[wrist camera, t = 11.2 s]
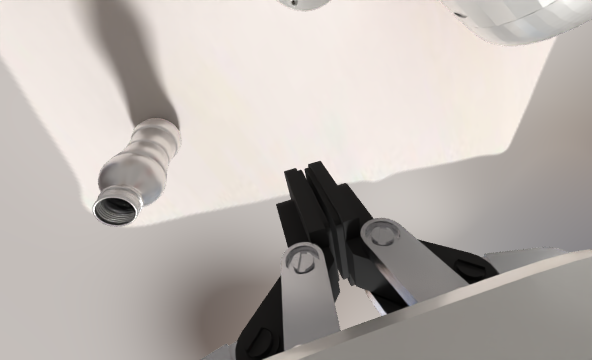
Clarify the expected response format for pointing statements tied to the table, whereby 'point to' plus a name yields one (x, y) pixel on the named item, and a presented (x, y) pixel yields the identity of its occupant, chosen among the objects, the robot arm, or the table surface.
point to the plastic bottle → (136, 172)
